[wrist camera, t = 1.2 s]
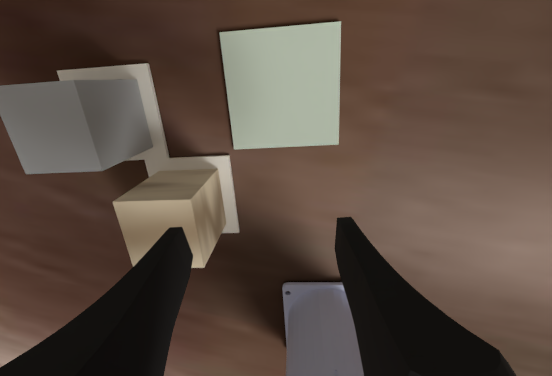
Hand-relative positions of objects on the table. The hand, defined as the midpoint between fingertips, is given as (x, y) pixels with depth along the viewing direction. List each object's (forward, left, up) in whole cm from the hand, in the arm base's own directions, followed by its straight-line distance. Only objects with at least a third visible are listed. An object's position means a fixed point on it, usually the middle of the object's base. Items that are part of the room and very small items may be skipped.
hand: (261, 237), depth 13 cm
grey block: (+5, +12, -9) cm, 16 cm away
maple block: (-2, +7, -9) cm, 12 cm away
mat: (+6, -1, -10) cm, 12 cm away
